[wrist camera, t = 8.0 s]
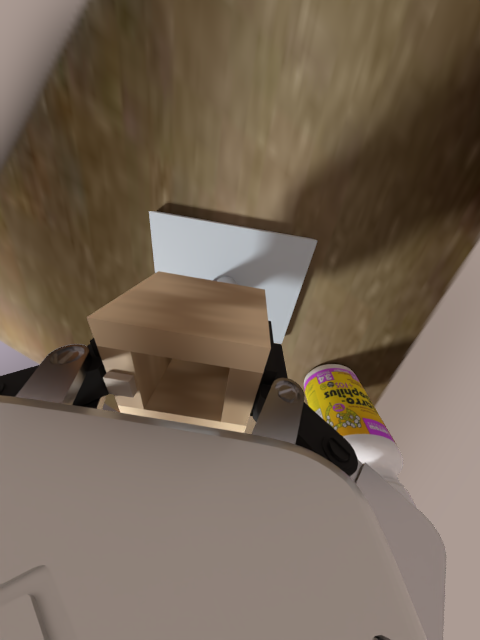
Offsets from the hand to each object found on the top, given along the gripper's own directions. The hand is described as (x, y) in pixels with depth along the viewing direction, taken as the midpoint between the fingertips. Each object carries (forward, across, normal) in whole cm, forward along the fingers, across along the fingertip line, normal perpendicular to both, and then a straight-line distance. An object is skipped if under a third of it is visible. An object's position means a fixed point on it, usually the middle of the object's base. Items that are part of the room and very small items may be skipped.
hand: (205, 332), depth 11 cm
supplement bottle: (+9, -15, +11) cm, 21 cm away
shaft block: (+9, 0, 0) cm, 9 cm away
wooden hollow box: (+1, 0, 0) cm, 1 cm away
